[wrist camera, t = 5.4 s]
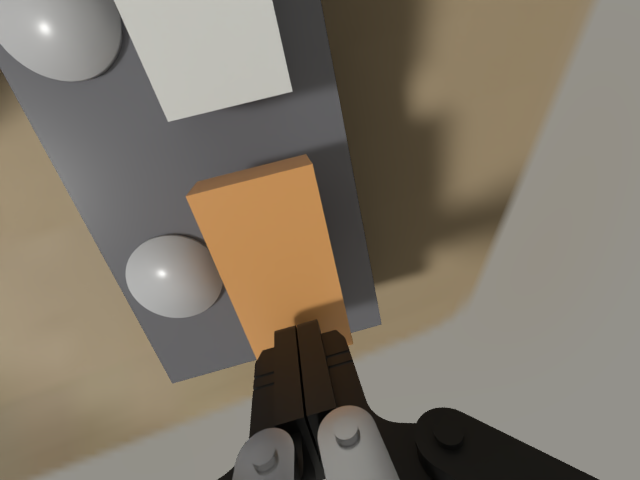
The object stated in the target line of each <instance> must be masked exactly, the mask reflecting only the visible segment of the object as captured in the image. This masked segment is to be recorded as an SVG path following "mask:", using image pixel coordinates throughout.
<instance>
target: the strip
mask: <svg viewBox="0 0 640 480" xmlns="http://www.w3.org/2000/svg"><path fill="white" fill-rule="evenodd" d="M272 2H273V6H274V11H275V15H276V20H277V24H278V28H279V33H280V37H281V42H282V46H283V51H284V55H285V60H286V64H287V69H288V73H289V78H290V82H291V87H292V91H293V92H289V93H285V94H281V95H277V96H272V97H268V98H264V99H260V100H256V101H252V102H248V103H244V104H240V105H236V106H231V107H227V108H223V109H219V110H215V111H211V112H207V113H203V114H199V115H194V116H190V117H186V118H182V119H178V120H174V121H170V122H168V120H167V118H166V116H165V114H164V112H163V109H162V107H161V105H160V103H159V100H158V98H157V96H156V94H155V91H154V89H153V87H152V85H151V82H150V80H149V78H148V76H147V74H146V71H145V69H144V67H143V65H142V62H141V60H140V58H139V56H138V53H137V51H136V49H135V47H134V44H133V42H132V40H131V38H130V35H129V33H128V31H127V29H126V27H125V24H124V22H123V20H122V18H121V15H120V13H119V11H118V9H117V6H116V4H115V2H114V0H0V69H1V70H2V72H3V74H4V76H5V78H6V80H7V81H8V83H9V85H10V87H11V89H12V90H13V92H14V94H15V96H16V98H17V100H18V101H19V103H20V105H21V107H22V109H23V111H24V112H25V114H26V116H27V118H28V120H29V122H30V123H31V125H32V127H33V129H34V131H35V133H36V134H37V136H38V138H39V140H40V142H41V144H42V145H43V147H44V149H45V151H46V153H47V155H48V156H49V158H50V160H51V162H52V164H53V166H54V167H55V169H56V171H57V173H58V175H59V177H60V178H61V180H62V182H63V184H64V186H65V188H66V189H67V191H68V193H69V195H70V197H71V199H72V200H73V202H74V204H75V206H76V208H77V210H78V211H79V213H80V215H81V217H82V219H83V221H84V222H85V224H86V226H87V228H88V230H89V232H90V233H91V235H92V237H93V239H94V241H95V242H96V244H97V246H98V248H99V250H100V252H101V253H102V255H103V257H104V259H105V261H106V263H107V264H108V266H109V268H110V270H111V272H112V274H113V275H114V277H115V279H116V281H117V283H118V285H119V286H120V288H121V290H122V292H123V294H124V296H125V297H126V299H127V301H128V303H129V305H130V307H131V308H132V310H133V312H134V314H135V316H136V318H137V319H138V321H139V323H140V325H141V327H142V329H143V330H144V332H145V334H146V336H147V338H148V340H149V341H150V343H151V345H152V347H153V349H154V351H155V352H156V354H157V356H158V358H159V360H160V362H161V363H162V365H163V367H164V369H165V371H166V373H167V374H168V376H169V378H170V380H171V382H172V383H176V382H179V381H183V380H186V379H190V378H193V377H197V376H200V375H204V374H208V373H211V372H215V371H218V370H222V369H225V368H229V367H232V366H236V365H239V364H243V363H246V362H250V361H253V360H257V359H256V357H255V355H254V352H253V350H252V348H251V345H250V343H249V341H248V339H247V336H246V334H245V332H244V329H243V327H242V325H241V323H240V320H239V318H238V316H237V313H236V311H235V309H234V306H233V304H232V302H231V300H230V297H229V295H228V293H227V290H226V288H225V286H224V284H223V281H222V279H221V277H220V274H219V272H218V270H217V267H216V265H215V263H214V261H213V258H212V256H211V254H210V251H209V249H208V247H207V245H206V242H205V240H204V238H203V235H202V233H201V231H200V228H199V226H198V224H197V222H196V219H195V217H194V215H193V212H192V210H191V208H190V206H189V203H188V201H187V199H186V195H187V194H188V193H189V191H190V190H191V189H192V188H193V186H194V185H195V184H196V183H197V182H198V181H202V180H205V179H209V178H213V177H217V176H221V175H225V174H229V173H233V172H237V171H241V170H245V169H249V168H253V167H257V166H261V165H265V164H269V163H273V162H277V161H280V160H284V159H288V158H292V157H296V156H300V155H304V154H306V155H307V156H308V158H309V159H310V161H311V162H312V164H313V168H314V172H315V177H316V181H317V186H318V190H319V194H320V199H321V203H322V208H323V212H324V217H325V221H326V225H327V230H328V234H329V239H330V243H331V247H332V252H333V256H334V261H335V265H336V270H337V274H338V278H339V283H340V287H341V292H342V296H343V300H344V305H345V309H346V314H347V318H348V323H349V327H350V331H351V333H352V332H356V331H360V330H363V329H367V328H370V327H374V326H377V325H381V319H380V314H379V308H378V303H377V298H376V292H375V287H374V282H373V276H372V271H371V266H370V260H369V255H368V250H367V244H366V239H365V234H364V228H363V223H362V218H361V212H360V207H359V202H358V196H357V191H356V186H355V180H354V175H353V170H352V164H351V159H350V154H349V148H348V143H347V138H346V132H345V127H344V122H343V116H342V111H341V106H340V101H339V95H338V90H337V85H336V79H335V74H334V69H333V63H332V58H331V53H330V47H329V42H328V37H327V31H326V26H325V21H324V15H323V10H322V5H321V0H272Z"/></svg>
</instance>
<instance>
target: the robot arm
mask: <svg viewBox="0 0 640 480" xmlns="http://www.w3.org/2000/svg"><path fill="white" fill-rule="evenodd" d="M254 378H255V380H254V386H253V389H254V391H253V398H252V411H251V424H250V436H249V440H248V441H247V442H246V443H245V444H244V445H243V447H242V448H241V450H240V452H239V454H238V457H237V459H236V463H235V466H234V467H233V468H232V469H231V470H230V471H229V472H228V473H226V474H225V475H224V476H222V477H221V478H219V479H218V480H323V479H326V480H599V479H597V478H595V477H593V476H591V475H588V474H587V473H585V472H582V471H580V470H578V469H576V468H574V467H572V466H570V465H568V464H566V463H564V462H562V461H560V460H558V459H556V458H554V457H552V456H550V455H548V454H546V453H544V452H542V451H540V450H538V449H535V448H534V447H532V446H529V445H528V444H525V443H524V442H521V441H519V440H517V439H515V438H513V437H511V436H509V435H507V434H505V433H503V432H501V431H499V430H497V429H495V428H493V427H491V426H489V425H487V424H485V423H483V422H481V421H479V420H477V419H475V418H472V417H471V416H468V415H466V414H465V413H463V412H460V411H458V410H455V409H451V408H435V409H431V410H429V411H427V412H425V413H424V414H423V415H422V416H421V417H420V418H419V419H418V421H417V423H396V422H391V421H387V420H385V419H382V418H381V417H379V416H377V415H376V414H375V413H374V412H373V411H372V410H371V409H370V407H369V406H368V404H367V401H366V399H365V396H364V393H363V390H362V387H361V384H360V381H359V378H358V375H357V372H356V369H355V366H354V363H353V360H352V357H351V354H350V351H349V348H348V345H347V342H346V339H345V337H344V336H343V335H342V334H340V333H339V332H338V331H337V330H332V331H329V332H325V333H322V334H321V330H320V327H319V323H318V320H317V319H315V320H312V321H308V322H305V323H301V324H297V327H296V325H294V326H291V327H287V328H284V329H280V330H276V331H274V347H273V348H269V349H266V350H262V352H261V354H260V356H259V358H258V359H257V361H256V363H255V373H254Z"/></svg>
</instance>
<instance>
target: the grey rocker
mask: <svg viewBox="0 0 640 480" xmlns="http://www.w3.org/2000/svg"><path fill="white" fill-rule="evenodd" d="M114 2H115V4H116V6H117V9H118V11H119V13H120V15H121V18H122V20H123V22H124V24H125V27H126V29H127V31H128V33H129V35H130V38H131V40H132V42H133V44H134V47H135V49H136V51H137V53H138V56H139V58H140V60H141V62H142V65H143V67H144V69H145V71H146V74H147V76H148V78H149V80H150V82H151V85H152V87H153V89H154V91H155V94H156V96H157V98H158V100H159V103H160V105H161V107H162V109H163V112H164V114H165V116H166V118H167V120H168V122H170V121H174V120H178V119H182V118H186V117H190V116H194V115H199V114H203V113H207V112H211V111H215V110H219V109H223V108H227V107H231V106H236V105H240V104H244V103H248V102H252V101H256V100H260V99H264V98H268V97H272V96H277V95H281V94H285V93H289V92H293V91H292V87H291V82H290V78H289V73H288V69H287V64H286V60H285V55H284V51H283V46H282V42H281V37H280V33H279V28H278V24H277V20H276V15H275V11H274V6H273V2H272V0H114Z"/></svg>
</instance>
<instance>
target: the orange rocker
mask: <svg viewBox="0 0 640 480" xmlns="http://www.w3.org/2000/svg"><path fill="white" fill-rule="evenodd" d="M186 199H187V201H188V203H189V206H190V208H191V210H192V212H193V215H194V217H195V219H196V222H197V224H198V226H199V228H200V231H201V233H202V235H203V238H204V240H205V242H206V245H207V247H208V249H209V251H210V254H211V256H212V258H213V261H214V263H215V265H216V267H217V270H218V272H219V274H220V277H221V279H222V281H223V284H224V286H225V288H226V290H227V293H228V295H229V297H230V300H231V302H232V304H233V306H234V309H235V311H236V313H237V316H238V318H239V320H240V323H241V325H242V327H243V329H244V332H245V334H246V336H247V339H248V341H249V343H250V345H251V348H252V350H253V352H254V355H255V357H256V359H258V358H259V356H260V354H261V352H262V350H266V349H269V348H273V347H274V331H276V330H280V329H284V328H287V327H291V326H294V325H296V327H297V324H301V323H305V322H308V321H312V320H315V319H317V320H318V323H319V327H320V330H321V334H322V333H325V332H329V331H332V330H337V331H338V332H339V333H340V334H342V335H343V336H344V337H345V339H346V342H347V345H352V344H353V340H352V336H351V331H350V327H349V323H348V318H347V314H346V309H345V305H344V300H343V296H342V292H341V287H340V283H339V278H338V274H337V270H336V265H335V261H334V256H333V252H332V247H331V243H330V239H329V234H328V230H327V225H326V221H325V217H324V212H323V208H322V203H321V199H320V194H319V190H318V186H317V181H316V177H315V172H314V168H313V164H312V162H311V161H310V159H309V158H308V156H307V155H306V154H304V155H300V156H296V157H292V158H288V159H284V160H280V161H277V162H273V163H269V164H265V165H261V166H257V167H253V168H249V169H245V170H241V171H237V172H233V173H229V174H225V175H221V176H217V177H213V178H209V179H205V180H202V181H198V182H197V183H196V184H195V185H194V186H193V188H192V189H191V190H190V191H189V193H188V194H187V195H186Z"/></svg>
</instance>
